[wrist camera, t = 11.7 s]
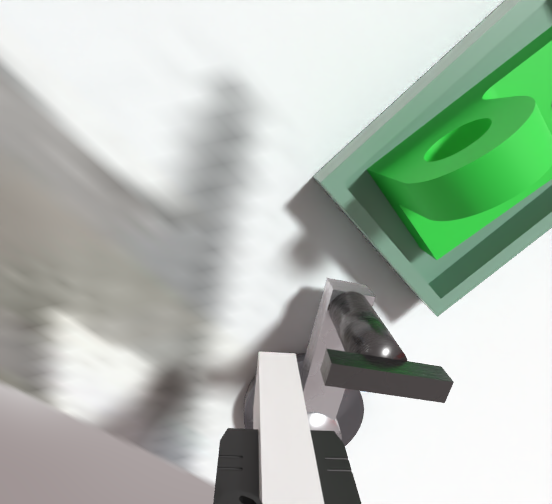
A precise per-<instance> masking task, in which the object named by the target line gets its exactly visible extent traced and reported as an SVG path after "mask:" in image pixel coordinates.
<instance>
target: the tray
mask: <svg viewBox="0 0 552 504" xmlns="http://www.w3.org/2000/svg"><path fill="white" fill-rule="evenodd" d="M551 26H552V0H505V1H504V2H503V3H501V4H500V5H499V6H498V7H497V8H496V9H495V10H494V11H493V12H492V13H491V14H489V15H488V16H487V17H486V18H485V19H484V20H483V21H482V22H481V23H480V24H479V25H477V26H476V27H475V28H474V29H473V30H472V31H471V32H470V33H469V34H468V35H467V36H465V37H464V38H463V39H462V40H461V41H460V42H459V43H458V44H457V45H456V46H455V47H453V48H452V49H451V50H450V51H449V52H448V53H447V54H446V55H445V56H444V57H443V58H441V59H440V60H439V61H438V62H437V63H436V64H435V65H434V66H433V67H432V68H431V69H429V70H428V71H427V72H426V73H425V74H424V75H423V76H422V77H421V78H420V79H419V80H418V81H416V82H415V83H414V84H413V85H412V86H411V87H410V88H409V89H408V90H407V91H406V92H404V93H403V94H402V95H401V96H400V97H399V98H398V99H397V100H396V101H395V102H394V103H392V104H391V105H390V106H389V107H388V108H387V109H386V110H385V111H384V112H383V113H382V114H380V115H379V116H378V117H377V118H376V119H375V120H374V121H373V122H372V123H371V124H370V125H368V126H367V127H366V128H365V129H364V130H363V131H362V132H361V133H360V134H359V135H358V136H356V137H355V138H354V139H353V140H352V141H351V142H350V143H349V144H348V145H347V146H346V147H344V148H343V149H342V150H341V151H340V152H339V153H338V154H337V155H336V156H335V157H334V158H332V159H331V160H330V161H329V162H328V163H327V164H326V165H325V166H324V167H323V168H322V169H320V170H319V171H318V172H317V173H316V174H315V175H314V176H313V177H314V178H315V180H316V181H317V182H318V183H319V184H320V185H321V186H322V188H323V189H324V190H325V191H326V192H327V193H328V194H329V196H330V197H331V198H332V199H333V200H334V201H335V202H336V204H337V205H338V206H339V207H340V208H341V209H342V211H343V212H344V213H345V214H346V215H347V216H348V217H349V219H350V220H351V221H352V222H353V223H354V224H355V225H356V227H357V228H358V229H359V230H360V231H361V232H362V233H363V235H364V236H365V237H366V238H367V239H368V240H369V241H370V243H371V244H372V245H373V246H374V247H375V248H376V250H377V251H378V252H379V253H380V254H381V255H382V256H383V258H384V259H385V260H386V261H387V262H388V263H389V264H390V266H391V267H392V268H393V269H394V270H395V271H396V272H397V274H398V275H399V276H400V277H401V278H402V279H403V280H404V282H405V283H406V284H407V285H408V286H409V287H410V289H411V290H412V291H413V292H414V293H415V294H416V295H417V297H418V298H419V299H420V300H421V301H422V302H423V303H424V304H425V305H426V306H427V307H428V308H429V309H430V310H431V311H432V312H433V313H434V314H435V315H436V316H437V317H438V316H439V315H440V314H441V313H443V312H444V311H445V310H447V309H448V308H449V307H450V306H452V305H453V304H454V303H456V302H457V301H458V300H459V299H461V298H462V297H463V296H465V295H466V294H467V293H468V292H470V291H471V290H472V289H474V288H475V287H476V286H477V285H479V284H480V283H481V282H483V281H484V280H485V279H486V278H488V277H489V276H490V275H492V274H493V273H494V272H495V271H497V270H498V269H499V268H501V267H502V266H503V265H504V264H506V263H507V262H508V261H510V260H511V259H512V258H513V257H515V256H516V255H517V254H519V253H520V252H521V251H522V250H524V249H525V248H526V247H528V246H529V245H530V244H531V243H533V242H534V241H535V240H537V239H538V238H539V237H540V236H542V235H543V234H544V233H546V232H547V231H548V230H549V229H551V228H552V179H551V180H550V181H548V182H547V183H546V184H544V185H543V186H541V187H540V188H538V189H537V190H536V191H534V192H533V193H531V194H530V195H529V196H527V197H526V198H524V199H523V200H521V201H520V202H519V203H517V204H516V205H514V206H513V207H512V208H510V209H509V210H507V211H506V212H505V213H503V214H502V215H500V216H499V217H497V218H496V219H495V220H493V221H492V222H490V223H489V224H488V225H486V226H485V227H483V228H482V229H480V230H479V231H478V232H476V233H475V234H473V235H472V236H471V237H469V238H468V239H466V240H465V241H464V242H462V243H461V244H459V245H458V246H456V247H455V248H454V249H452V250H451V251H449V252H448V253H447V254H445V255H444V256H442V257H441V258H440V259H438V260H436V259H434V258H433V257H431V256H430V255H429V254H427V253H426V252H424V251H423V250H422V249H421V248H420V247H419V245H418V244H417V242H416V241H415V239H414V238H413V237H412V235H411V234H410V232H409V231H408V229H407V228H406V226H405V225H404V223H403V222H402V221H401V219H400V218H399V216H398V215H397V213H396V212H395V210H394V209H393V207H392V206H391V204H390V203H389V202H388V200H387V199H386V197H385V196H384V194H383V193H382V191H381V190H380V188H379V187H378V186H377V184H376V183H375V181H374V180H373V178H372V177H371V175H370V174H369V172H368V171H367V169H368V168H369V167H370V166H372V165H373V164H374V163H375V162H377V161H378V160H379V159H381V158H382V157H383V156H384V155H386V154H387V153H388V152H390V151H391V150H392V149H394V148H395V147H396V146H397V145H399V144H400V143H401V142H403V141H404V140H405V139H406V138H408V137H409V136H410V135H412V134H413V133H414V132H415V131H417V130H418V129H419V128H421V127H422V126H423V125H425V124H426V123H427V122H428V121H430V120H431V119H432V118H434V117H435V116H436V115H437V114H439V113H440V112H441V111H443V110H444V109H445V108H446V107H448V106H449V105H450V104H452V103H453V102H454V101H456V100H457V99H458V98H459V97H461V96H462V95H463V94H465V93H466V92H467V91H468V90H470V89H471V88H472V87H474V86H475V85H476V84H477V83H479V82H480V81H481V80H483V79H484V78H485V77H487V76H488V75H489V74H490V73H492V72H493V71H494V70H496V69H497V68H498V67H499V66H501V65H502V64H503V63H505V62H506V61H507V60H508V59H510V58H511V57H512V56H514V55H515V54H516V53H518V52H519V51H520V50H521V49H523V48H524V47H525V46H527V45H528V44H529V43H530V42H532V41H533V40H534V39H536V38H537V37H538V36H539V35H541V34H542V33H543V32H545V31H546V30H547V29H549V28H550V27H551ZM551 107H552V103H551Z"/></svg>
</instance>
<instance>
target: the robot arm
mask: <svg viewBox="0 0 552 504" xmlns="http://www.w3.org/2000/svg"><path fill="white" fill-rule="evenodd" d="M213 504H361V501H360V498H359V494H358V491H357V487H356V484H355V480H354V477H353V474H352V472H351V467H350V463H349V460H348V456H347V453H346V450H345V446H344V443H343V442H342V441H341V439H340V438H339V437H338V435H337V434H336V433H335V431H322V430H310V426H309V421H308V416H307V411H306V406H305V400H304V395H303V390H302V385H301V379H300V374H299V369H298V364H297V358H296V353H277V352H259V353H258V363H257V374H256V385H255V395H254V406H253V429H234V428H228V429H227V431H226V432H225V434H224V435H223V437H222V438H221V440H220V447H219V457H218V466H217V475H216V484H215V494H214V503H213Z"/></svg>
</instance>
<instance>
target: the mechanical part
mask: <svg viewBox="0 0 552 504" xmlns="http://www.w3.org/2000/svg"><path fill="white" fill-rule="evenodd" d="M551 103H552V26H551V27H550V28H549V29H547V30H546V31H545V32H543V33H542V34H541V35H539V36H538V37H537V38H536V39H534V40H533V41H532V42H530V43H529V44H528V45H527V46H525V47H524V48H523V49H521V50H520V51H519V52H518V53H516V54H515V55H514V56H512V57H511V58H510V59H508V60H507V61H506V62H505V63H503V64H502V65H501V66H499V67H498V68H497V69H496V70H494V71H493V72H492V73H490V74H489V75H488V76H487V77H485V78H484V79H483V80H481V81H480V82H479V83H477V84H476V85H475V86H474V87H472V88H471V89H470V90H468V91H467V92H466V93H465V94H463V95H462V96H461V97H459V98H458V99H457V100H456V101H454V102H453V103H452V104H450V105H449V106H448V107H446V108H445V109H444V110H443V111H441V112H440V113H439V114H437V115H436V116H435V117H434V118H432V119H431V120H430V121H428V122H427V123H426V124H425V125H423V126H422V127H421V128H419V129H418V130H417V131H415V132H414V133H413V134H412V135H410V136H409V137H408V138H406V139H405V140H404V141H403V142H401V143H400V144H399V145H397V146H396V147H395V148H394V149H392V150H391V151H390V152H388V153H387V154H386V155H384V156H383V157H382V158H381V159H379V160H378V161H377V162H375V163H374V164H373V165H372V166H370V167H369V168H368V169H367V171H368V172H369V174H370V175H371V177H372V178H373V180H374V181H375V183H376V184H377V186H378V187H379V188H380V190H381V191H382V193H383V194H384V196H385V197H386V199H387V200H388V202H389V203H390V204H391V206H392V207H393V209H394V210H395V212H396V213H397V215H398V216H399V218H400V219H401V221H402V222H403V223H404V225H405V226H406V228H407V229H408V231H409V232H410V234H411V235H412V237H413V238H414V239H415V241H416V242H417V244H418V245H419V247H420V248H421V249H422V250H423V251H424V252H426V253H427V254H429V255H430V256H431V257H433V258H434V259H436V260H438V259H440V258H441V257H442V256H444V255H445V254H447V253H448V252H449V251H451V250H452V249H454V248H455V247H456V246H458V245H459V244H461V243H462V242H464V241H465V240H466V239H468V238H469V237H471V236H472V235H473V234H475V233H476V232H478V231H479V230H480V229H482V228H483V227H485V226H486V225H488V224H489V223H490V222H492V221H493V220H495V219H496V218H497V217H499V216H500V215H502V214H503V213H505V212H506V211H507V210H509V209H510V208H512V207H513V206H514V205H516V204H517V203H519V202H520V201H521V200H523V199H524V198H526V197H527V196H529V195H530V194H531V193H533V192H534V191H536V190H537V189H538V188H540V187H541V186H543V185H544V184H546V183H547V182H548V181H550V180H551V179H552V107H551Z"/></svg>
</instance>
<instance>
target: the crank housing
mask: <svg viewBox="0 0 552 504" xmlns="http://www.w3.org/2000/svg"><path fill="white" fill-rule="evenodd" d="M305 355H306V354H296V358H297V364H298V369H299V374H300V372H301V369H302V365H303V362H304V358H305ZM255 385H256V376H255V377H254V379H253V380H252V382H251V383H250V385H249V387H248V389H247V392H246V396H245V402H244V423H245V428H246V429H253V406H254V395H255ZM363 414H364V405H363V400H362V396H361V394H360V391H359V390H352V389H345V391H344V394H343V397H342V400H341V403H340V406H339V409H338V412H337V415H336V418H337V421H338V424H339V428H340V431H341V436H342V440H341V441H342V442H343V443H344V446H346V445H347V444H348V443H349V442H350V441H351V440H352V439H353V437H354V436H355V435H356V433H357V431H358V430H359V428H360V425H361V423H362V419H363Z"/></svg>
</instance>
